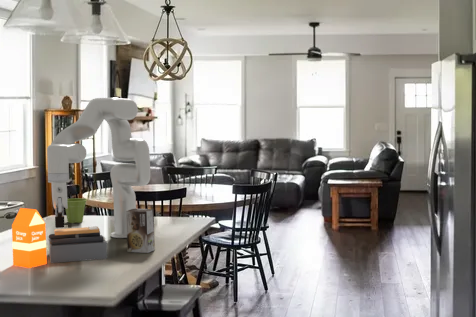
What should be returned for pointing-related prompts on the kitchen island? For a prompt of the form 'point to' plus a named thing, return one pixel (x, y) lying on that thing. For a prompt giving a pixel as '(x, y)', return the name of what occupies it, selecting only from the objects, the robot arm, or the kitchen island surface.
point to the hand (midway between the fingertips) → (59, 227)
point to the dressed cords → (73, 240)
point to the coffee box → (140, 230)
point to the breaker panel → (77, 251)
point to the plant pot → (75, 210)
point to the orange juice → (29, 239)
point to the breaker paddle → (76, 230)
